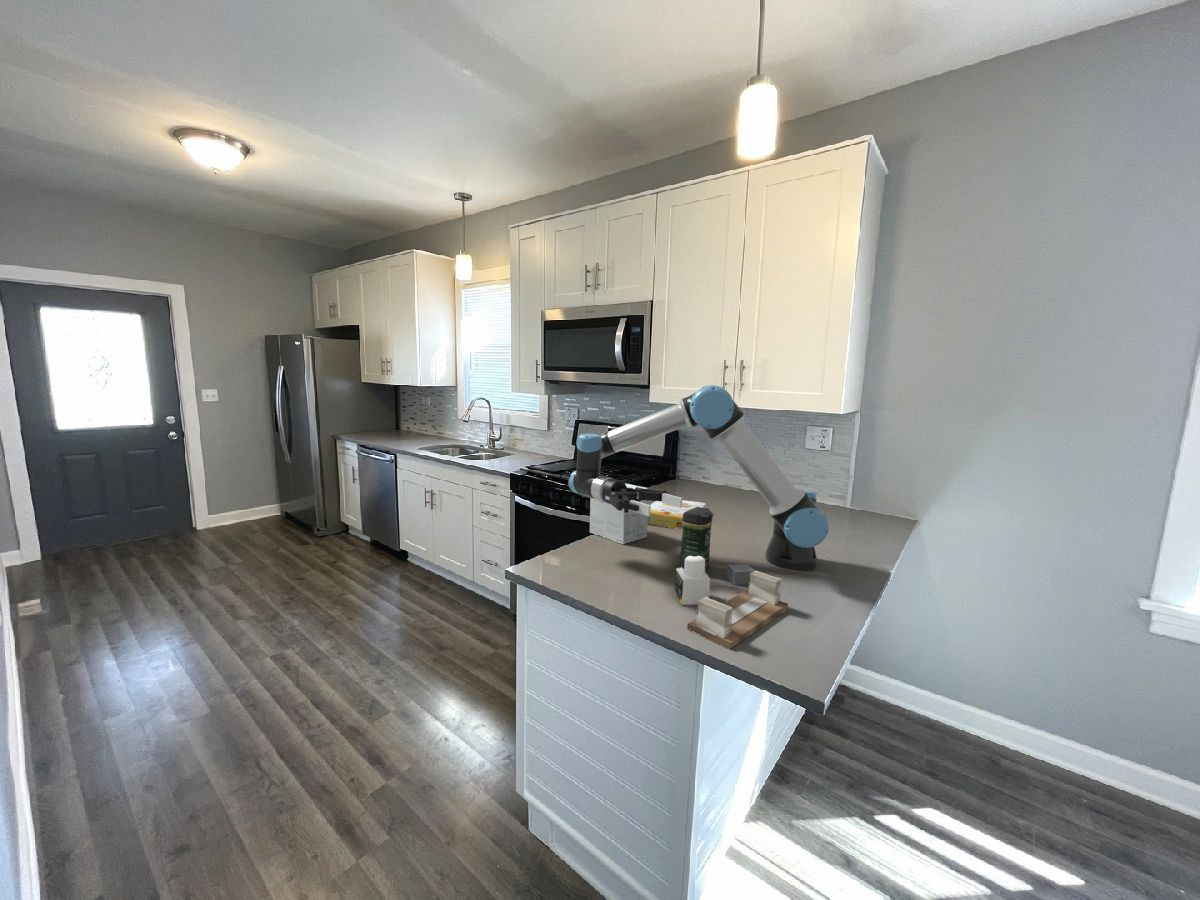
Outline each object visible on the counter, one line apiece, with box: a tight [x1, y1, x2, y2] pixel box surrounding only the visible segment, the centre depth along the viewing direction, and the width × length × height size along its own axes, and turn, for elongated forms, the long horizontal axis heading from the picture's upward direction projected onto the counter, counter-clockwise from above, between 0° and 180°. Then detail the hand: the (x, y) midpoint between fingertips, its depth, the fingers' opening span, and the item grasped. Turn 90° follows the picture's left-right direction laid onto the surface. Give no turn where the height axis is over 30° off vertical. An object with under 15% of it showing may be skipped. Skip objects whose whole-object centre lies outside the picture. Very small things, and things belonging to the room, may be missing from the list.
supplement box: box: [589, 482, 650, 545], centre depth 173 cm, size 17×13×18 cm
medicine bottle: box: [674, 552, 711, 606], centre depth 124 cm, size 7×7×12 cm
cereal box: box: [647, 499, 707, 530], centre depth 197 cm, size 20×6×28 cm
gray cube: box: [726, 563, 756, 586], centre depth 137 cm, size 6×5×4 cm
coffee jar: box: [679, 507, 713, 571], centre depth 144 cm, size 10×8×19 cm
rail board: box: [686, 570, 789, 650], centre depth 114 cm, size 27×11×8 cm, turn 134°
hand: (666, 506), depth 129 cm, fingers open, 13 cm apart
